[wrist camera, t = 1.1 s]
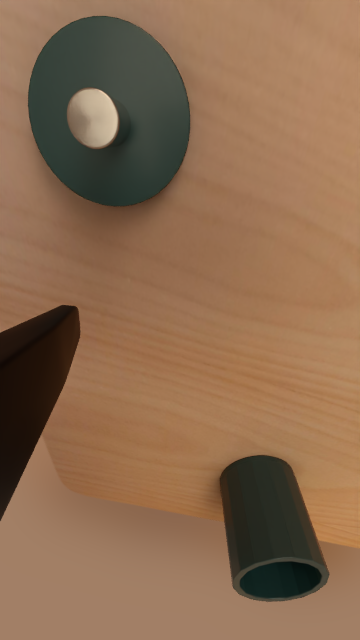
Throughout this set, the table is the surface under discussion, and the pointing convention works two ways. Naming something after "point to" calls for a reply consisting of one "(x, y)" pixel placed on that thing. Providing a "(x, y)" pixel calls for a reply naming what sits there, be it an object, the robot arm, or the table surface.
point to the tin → (269, 532)
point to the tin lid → (109, 111)
